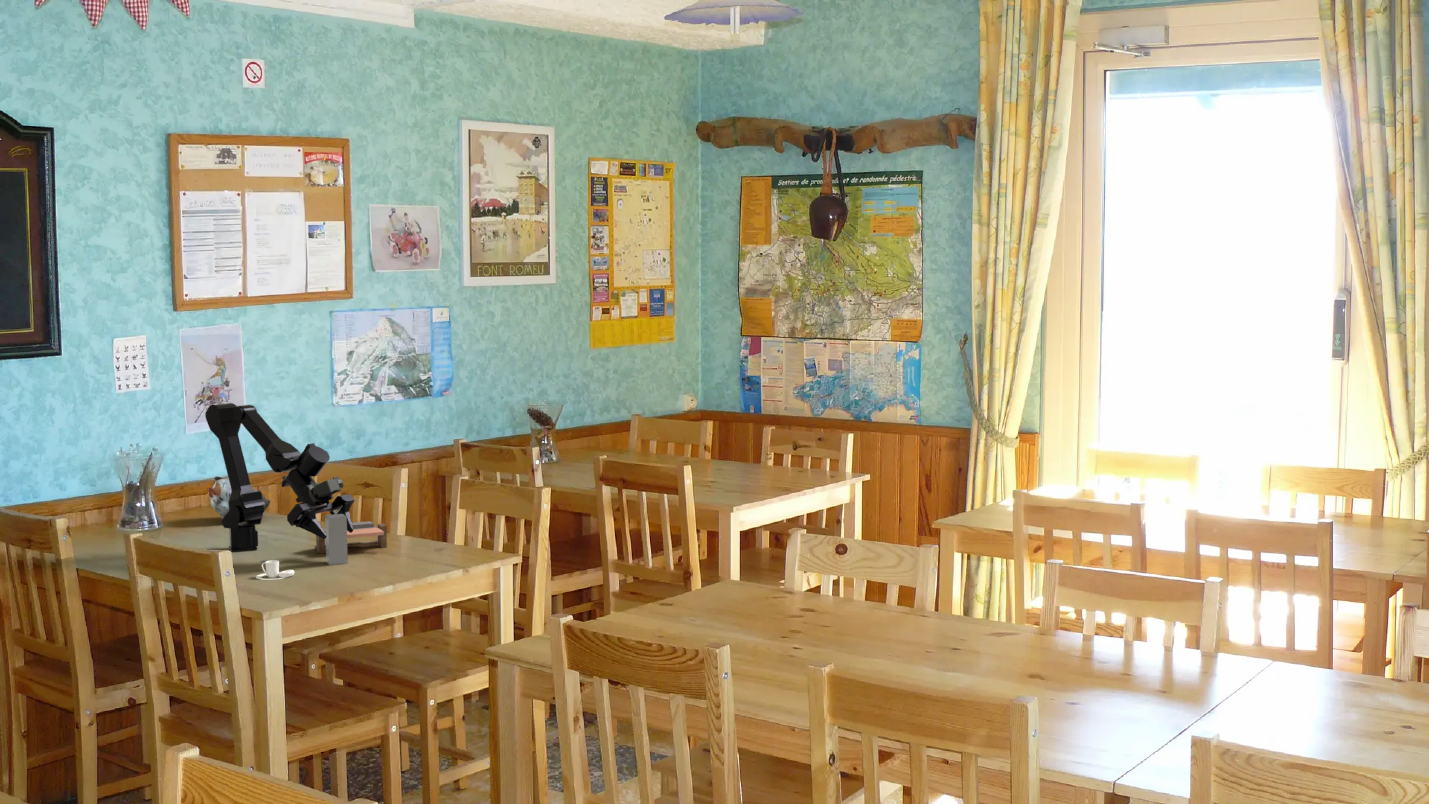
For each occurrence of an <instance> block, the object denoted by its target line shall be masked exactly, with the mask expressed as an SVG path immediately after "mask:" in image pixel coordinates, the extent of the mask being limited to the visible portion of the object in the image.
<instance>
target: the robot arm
mask: <svg viewBox="0 0 1429 804" xmlns="http://www.w3.org/2000/svg"><path fill="white" fill-rule="evenodd" d="M204 415H205V416H204V417H205V420H206V423H207V425H208V428H209V430H210V431H211V433H213V434H214V436H216V438H217V439H218V441H219V445H220V451H221V453H222V457H223V461H224V465H225V468H226V469H225V470H226V472H227V479H228V478H229V482H230V486H231V490H232V492H231V495H230V498H229V502H228V503H229V511H228V513H227V514H226V515H225V517H224V518H223V519H222V518H221V523H222V526H223V528H224V529H228V530H229V531H228V533H229V545H228V548H229V550H230V551H231V552H232V551H233V552H245V551H255V550H258V546H259V532H258V530H257V529H256V525H261V523H262V519H263V517H264V515H263V513H264V514H265V512H264V505H265V503H264V502H263V498H262V494H263V493H262V492H261V490H257V491H255V490H256V489H254V488H253V487H252V484H251V481H250V477H249V471H248V469H247V465H246V461H245V456H244V453H243V447H242V444H241V441H240V438H239V431H240V428H241V425H242V426H243V427H244V428H245V430H246V431H247V432H248V433H249V434H250V435H251V437H252V438H253V439H254V440H255V442H257V444H258V445H259V446H260V447H261V449H263V451H264V453H265V454H264V455H265V460H266V462H267V464H268V465H269V467H270V468H271V470H272V471H273V472H275V473H279V474H280V473H285V472H288V473H287V475H283V476H282V481H281V487H282V488H286V487H290V488H291V490H292V491H293V493H294V494H295V495H296V498H295V502H296V504H294V505H293V507H292V509H291V510H290V511H289V513H288V514H287V515H286V521H287V522H288V524H289V525H290V526H291V527H293V526H295V527H296V528H300V529H303V530H304V531H306V532H309V533H311V534H314V535H315V536H316V535H317V536H319V537H321V538H323V539H325V538H326V537H327V535H326V533H325V529H324V528H323V527H322V525H321V524H320V522H319V520H318V519H317V515H318V514H322V513H328V512H329V515H334V514H344V515H345V516H346V517H347V531H349V532H350V533H352V532H353V526H352V523H353V522H352V520H351V515H350V509H351V508H352V507H353V504H354V502H355V499H354V497H353V496H352V495H351V494H347V493H346V494H343V495H342V494H339V495H337V496H336V497H335V499H334V500H333V502H330V500H332V499H333V498H334V496H333V495H335V494H336V493H337V492H341V491H342V489H343V488H344V486H345V485H344V482H343V480H342V479H341V478H340V477H339V476H334V477H332V478H330V479H328V480H324V481H322V482H318V483H317V482H316V481H315V480H314V477H317V476H319V475H320V473H321V472H322V470H323V469H324V468H325V467H326V465H327V463H328V462H329V461H330V458H331V457H330V453H328V451H327V450H325V449H323V448H322V447H320V446H317V445H316V444H315V443H314V442H313V443H307V444H306V446H305V447H304V450H303V451H302V452H300V451H299V449H297V448H296V447H295V446H293V444H291V443H288V442H287V441H285V440H284V439H282V438H280V437H279V436H278V434H276V432H275V431H274V430H273V429H272V428H271V426H270V424H268V423H267V422H266V420H265V419H264V418H263V417H262V416H261V415H260V413H258V410H257V407H256V406H254V405H253V404H244V405H236V404H235V403H233V402H228V403H219V404H218V403H217V404H210V405H209V406H208V407H207V409H206V411H205V414H204ZM262 516H263V517H262ZM325 540H326V539H325Z"/></svg>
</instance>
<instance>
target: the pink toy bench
mask: <svg viewBox="0 0 1429 804" xmlns="http://www.w3.org/2000/svg"><path fill="white" fill-rule="evenodd" d="M377 527H378V528H379V529H381V530H382V531H383V532H384V535H377V539H376V540H365V541H354V542H347V548H352V547H353V548H354V547H364V546H376V545H377V546H379V547H380V548H381V549H382V548H388V539H387V538H388V536H387V535H388V534H387V531H388V530H387V529H388V528H387V525H386V524H384V523H377ZM315 544H316V545H314V550H316V552H317V553H318V554H326V539H323V538H321V537H319V536H317V535H315Z"/></svg>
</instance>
